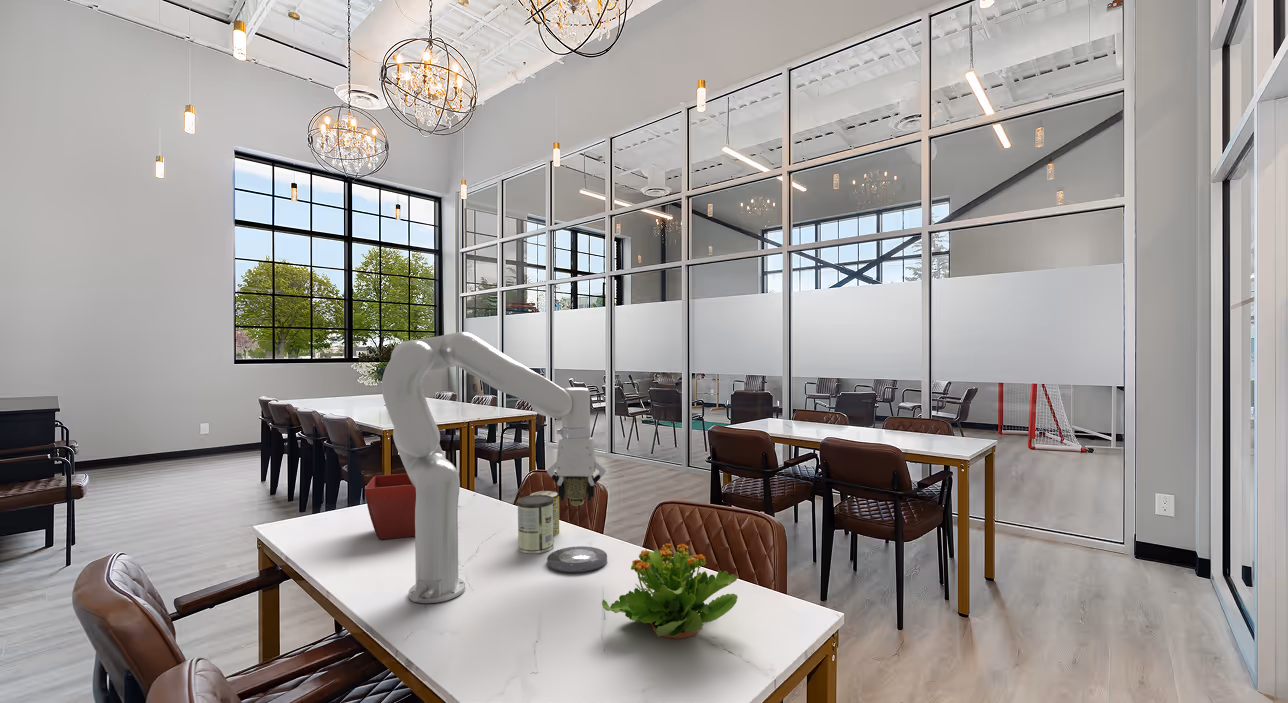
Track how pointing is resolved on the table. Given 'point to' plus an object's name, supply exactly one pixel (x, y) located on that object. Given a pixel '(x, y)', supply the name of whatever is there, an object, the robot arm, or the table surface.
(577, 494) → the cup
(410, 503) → the plant pot
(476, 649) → the table surface
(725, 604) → the potted flower
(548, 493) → the yellow tin can
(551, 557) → the gray dinner plate
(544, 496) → the coffee can
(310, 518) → the table surface
